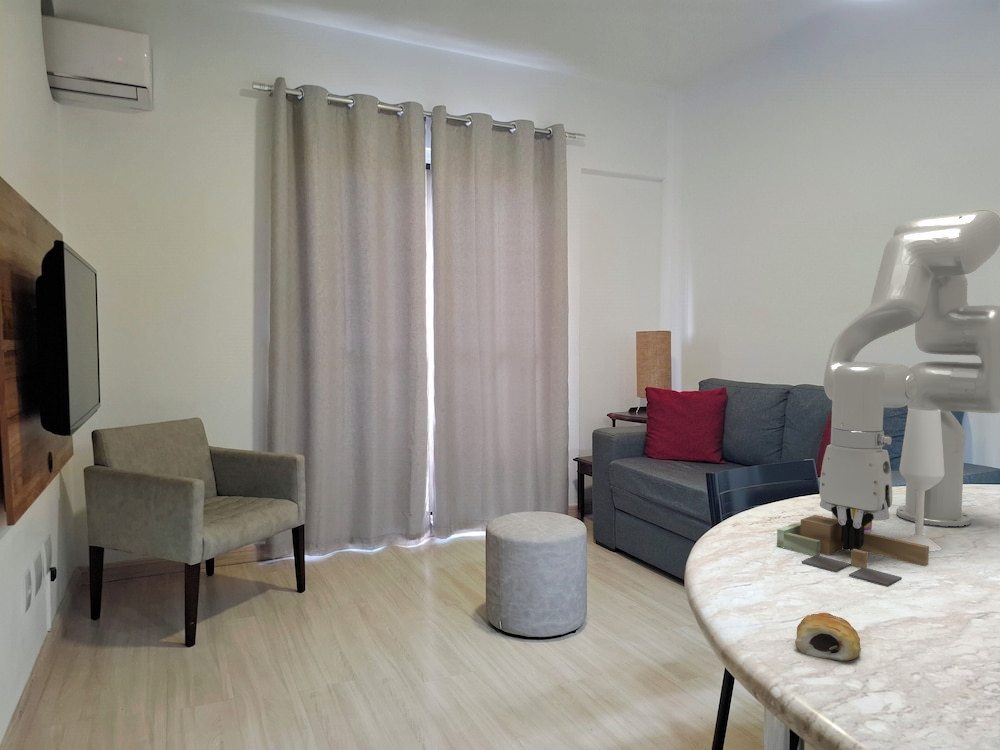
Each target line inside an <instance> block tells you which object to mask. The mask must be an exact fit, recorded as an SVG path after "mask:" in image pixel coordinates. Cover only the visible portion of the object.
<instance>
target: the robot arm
mask: <svg viewBox="0 0 1000 750" xmlns="http://www.w3.org/2000/svg"><path fill="white" fill-rule="evenodd" d="M999 247H1000V217H999V216H998V214H996V213H995V212H993V211H990V210H974V211H965V212H958V213H957V212H956V213H950V214H938V215H930V216H924V217H923V216H922V217H916V218H913V219H909V220H906V221H904V222H903V221H902V222H901V223H900V224H898V225H896V227H895V229H894V231H893V236H892V238H890V239H888V242H887V243H886V245H885V247H884V250H883V253H882V257H881V261H880V264H879V267H878V268H879V269H878V273H877V276H876V281H875V284H874V288H873V292H872V295H871V299H870V304H869V305H868V307H867V308H866V309H865V310H864V311H862V312H861V313H860V314H858V315H857V316H855V318H854V319H852V320H851V321H850V322H849V323H848V324H847V325H846V326H845V327H844V328H843V330H841V332H840V333H839V334H838V336H836V338H835V339H834V341H833V343H832V346H831V348H830V352H829V355H828V359H827V362H826V366H825V369H824V370H825V371H824V375H823V389H824V393H825V395H826V396H827V398H828V399H829V400H830V401H832V402H831V424H830V425H831V428H830V444H828V445H826V448H825V452H824V455H823V459H822V465H821V471H820V479H819V497H820V503H819V506H820V508H821V509H823V510H826V511H828V512H831V513H833V514H834V515H835V516H836V518H837V519H838V522H839V524H840V525H842V529H841V542H843V550H845V551H848V550H849V551H850V552H851V550H853V549H857V550H859V549H861V547H862V546H863V544H864V526H866V525H867V524H868V523H870V522H871V521H872V522H873V521H887V520H888V519H890V511H889V508H891V507H892V505H893V504H892V503H893V479H892V478H893V477H892V469H891V462H890V461H891V460H890V456H889V451H888V450H887V449H883V448H884V446H886V445H888V446H889V445H891V444H892V441H893V439H892V436H887V435H885V431H884V429H883V427H884V408H886V409H887V408H888V409H897V408H904V407H906V406H907V409H908V408H930V409H938V410H940V413H941V428H942V443H943V458H944V473H945V474H944V477H943V478H942V480H941V481H940V482H939V483H938V484H936V485H935V486H933V487H932V488H930V489H929V490H926V491H925V496H924V520H923V525H928V524H930V525H931V526H935V525H940V526H939V527H948V526H959V527H965V526H964V525H966V526H969V525H970V524H971V522H972V518H971V516H970V515H969V514H967V513H964V512H962V507H963V506H962V505H963V491H964V490H963V488H964V487H963V484H964V465H965V464H964V463H965V461H964V460H965V444H966V443H965V442H966V436H965V431H964V428H963V427H962V425H961V424H960V421H959V420H958V419H957V417H956V416H955V415H954V414H953V413H952V412H963V413H964V412H965V413H978V414H979V413H980V414H999V413H1000V305H993V304H991V305H990V304H989V305H988V304H987V305H985V304H984V305H983V304H980V305H969V304H968V285H969V284H968V278H967V276H966V275H968V274H971V273H973V272H976V270H978V269H979V268H980V267H982V266H983V264H985V263H986V262H987V261H988V260H989V259H990V258H992V256H993V255H995V253H996V252H997V251H998V249H999ZM912 325H914V336H915V337H914V339H915V344H916V346H917V349H919V351H921V352H923V353H926V354H929V355H930V354H931V355H942V356H945V355H947V356H948V355H949V356H950V355H951V356H975V357H976V356H977V357H978V358H979V359H980V362H966V361H965V362H961V361H944V360H943V361H936V360H935V361H934V360H933V361H924V362H918V363H916V364H913V365H912V366H911V367H909V366H907V365H904V364H899V363H886V362H885V363H884V362H882V363H881V362H865V361H864V362H861V361H860V362H859V361H855V359H856V357H857V355H858V354H859V353H860V352H861V350H862V349H864V348H865V347H866V346H868V345H869V344H870V343H871V342H874V341H875V340H878V339H880V338H882V337H884V336H888V335H889V334H892V333H895V332H897V331H900V330H902V329H905V328H907V327H910V326H912ZM905 482H906V481H905ZM916 499H917V490H916V489H914V488H913V487H911V486H910V485H909V484H908V483H907V482H906V483H905V505H901V506H898V507H897V508H895V509H896V510H895V511H896V512H895V513H896V515H897V516H898V517H900V518H902V519H904V520H907V521H909V520H910V521H909V522H913V521H914V522H913V523H916ZM852 509H856V512H855V517H854V522H853V514H852ZM930 525H929V526H930Z"/></svg>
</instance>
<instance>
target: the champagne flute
mask: <svg viewBox="0 0 1000 750" xmlns="http://www.w3.org/2000/svg"><path fill="white" fill-rule="evenodd" d="M903 435H904V436H903V441H902V442H903V443H902V449H901V454H900V455H901V456H900V462H899V469H898V470H899V473H900V475H901V477H902V478H903V479H904V481H905V482H907V483H908V484H909V485H910V486H911V487H913V488H914V489H916V490H917V499H916V522H915V527H914V533H913V534H911V535H908V536H906V537H902V538H901V539H900V540H903V541H907V542H912V543H916V544H921V545H925V546H929V552H936V551H935V550H938V551H940V550H941V549H940V547H941V546H939V545H938V544H937V543H935V542H934V541H932V540H931V539H930V538H928V537H926V536H925V535H924V524H923V520H924V496H925V491H926V490H929V489H930V488H932V487H933V486H935V485H936V484H938V483H939V482H940V481H941V480H942V478H943V477H944V474H945V473H944V458H943V443H942V428H941V413H940V410H938V409H930V408H908V407H907V415H906V422H905V428H904V434H903ZM939 549H940V550H939Z"/></svg>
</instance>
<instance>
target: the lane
mask: <svg viewBox="0 0 1000 750" xmlns="http://www.w3.org/2000/svg"><path fill="white" fill-rule="evenodd" d="M800 532H801V520H800V521H798V522H795V523H792V524H789V525H785V526H784V527H783V526H782V527H780V528H777V529H776V547H778V546H781V547H780V548H782V547H784V548H783V549H786V548H787V549H786V550H789V549H791V550H790V551H793V550H795V551H794V552H797V551H798V552H797V553H801V552H802V554H805V553H806V554H805V555H809V556H810V557H808V558H806V559H803V560H801V562H802V563H801V564H803V565H807V566H808V565H809V566H811V567H815V568H818V569H822V570H826V571H829V572H832V573H838V572H840V571H842V570H844V569H846V568H849V567H850V566H851V567H854V568H858V569H857V570H855V571H853V572H851V573H848V577H852V578H855V579H858V580H861V581H866V582H870V583H872V584H876V585H879V586H883V587H884V586H885V587H889V586H891V585H894V584H895V583H898V582H899V581H901V580H902V576H900V575H899V576H898V575H895V574H892V573H888V572H884V571H880V570H876V569H872V568H868V553H870V554H874V555H878V556H882V557H886V558H890V559H893V560H898V561H902V562H906V563H911V564H914V565H918V566H919V565H920V566H922V567H923V566H924V567H927V566H929V560H930V559H929V556H930V551H929V546H925V545H921V544H916V543H912V542H907V541H903V540H901V539H898V538H893V537H890V536H889V537H888V536H884V535H880V534H876V533H872V532H871V533H867V532H864V544H863V546H862V547H861V549H859V550H857V549H853V550H851V551H850V562H849V563H848V562H845V561H841V560H838V559H833V558H829V557H826V556H824V555H821V553H820V542H821V541H820V540H816V539H812V538H808V537H804V536H800Z"/></svg>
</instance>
